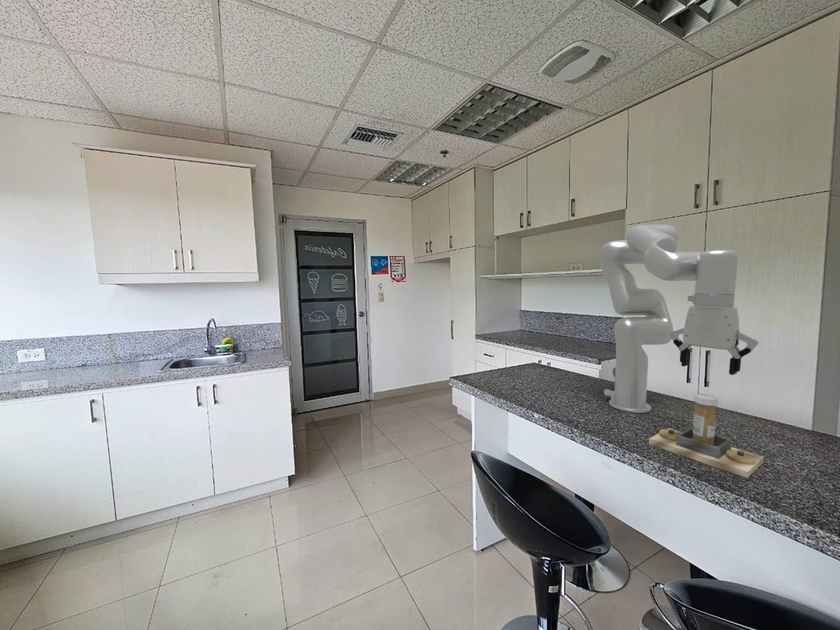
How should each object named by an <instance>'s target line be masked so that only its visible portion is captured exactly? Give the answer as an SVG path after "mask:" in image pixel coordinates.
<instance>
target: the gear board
mask: <svg viewBox="0 0 840 630" xmlns="http://www.w3.org/2000/svg"><path fill="white" fill-rule="evenodd" d="M658 431H659V432H658V433H657V434H655V435H653V436H651V437H649V438H648V444H649V445H651V446H654V447H656V448H660V449H663V450H665V451H668V452H671V453H674V454H677V455H680V456H683V457H684V458H687V459H688V458H689V459H690V460H694V461H697V462H700V463H703V464H705V465H708V466H711V467H713V468H717V469H720V470H723V471H726V472H727V473H731V474H734V475H737V476H739V477H742V478H746V479H749V477H750V476H751V475H753V473H754V472H755V471H757V469H759V468H760V467H761V465H762V464H764V458H765V457H764V456H762V455H759V454H755V453H753V452H749V451H747V450H742V449H739V448H736V447H733V446H732V442H733V441H732V439H731V438H727V437H723V436H720V435H717V434H715V436H714V446H711V445H708V444H705V443H701V442H698V441H695V440H693V427H689V428H688V429H686V430H684V431H679V430H675V429H673V428H670V427H669V428H666V429H665V428H664V429H660V430H658Z"/></svg>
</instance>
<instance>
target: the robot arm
mask: <svg viewBox="0 0 840 630" xmlns="http://www.w3.org/2000/svg"><path fill="white" fill-rule="evenodd" d="M678 241H679V232H678V230H677V229H676V227H674V226H673V225H671V224H664V223H663V224H659V223H657V224H653V223H652V224H639V225H635V226H633V227H632V228H630V229H629V230H628V231H627V232H626V235H625V239H622V240H621V239H619V240H612V241H609V242H606V243H605V244H603V245H602V247H600V251H599V257H598V258H599V259H598V260H599V261H598V262H599V266H600V269H601V271H602V273H603V276H604V278H605V280H606V283H607V285H608V289H609V293H610V298H611V302H612V306H613V309H614V311H615V313H616V314H618V315H620V316H626V317H622V318H620V319H617V321H616V322H615V324H614V328H613V329H614V330H613V332H614V333H613V334H614V339H615V368H616V372H615V377H614V382H615V383H614V389H615V390H612V389H608V388H605V389H604V391H603V393H604V394H603V395H604V396H606V397H610V399H609V400H608V404H609V406H610V407H612V408H614V409H616V410H619V411H622V412H628V413H636V414H643V413H644V414H645V413H649V412H651V410H652V406H651V405H650V404H649V403H647V393H648V392H647V389H648V374H649V371H648V370H649V356H648V354H647V352H646V351H645V349H644V348H643V347H642V346H645V345H647V346H648V345H651V346H652V345H653V346H657V345H658V346H659V345H660V346H661V345H666V344H668V343H670V342H671V341H672V342H673V344H674V345H675V346H676V347H677V348H678V350H679V351H680V352H679V353H680V354H679V363H681V367H687V366H689V365H690V361H691V359H690V358H691V350H690V349H689V348H691V347H699V348H708V349H715V350H725V351H726V350H727V351H728V352H729V354H731V356H732V357H730V359H729V369H728V374H729V375H732V376H734V375H736V374H737V373H738V372H740V371H741V365H742V364H741V363H742V358H744V357H746V355H749V354H750V353H752V352H753V351H754V349H755V348H756V347H757V346H758V345H759V343H760V342H759V340H757V339H754V338H752V337H750V336H749V335H746V334H744V333H742V332H740V318H739V311H738V308H737V307H735V294H736V285H737V283H736V282H737V273H738V261H739V255H738V253H737V251H735V250H732V249H731V250H730V249H728V250H727V249H725V250H724V249H721V250H720V249H718V250H717V249H716V250H705V251H676V250H677V248H678ZM637 264H638V265H641V264H642V265H644V266H645V269H646V270H647V272H649V273H650V274H651V275H653V276H654V277H656V278H658V279H659V280H663V281H669V282H673V281H676V282H677V281H688V282H689V281H690V282H691V281H692V282H694V281H695V282H694V284H695V285H694V286H695V287H694V293H693V295H688V296H687V301H688V302H691V303H692V305H690V306H689V307H688V310H687V314H686V318H685V322H684V327H683V328H681V329H677V330H674V327H673V322H672V320H671V319H672V318H671V316H670V312H669V309H668V305H667V302H666V299H665V297H664V295H663V293H662V292H661V291H658V289H654V288H639V287H638V286H637V284H636V280H635V279H636V278H635V276H634V275H633V274H632V272H631V271H630V270H629V269H628V268H627V267H625V266H624V265H637ZM680 335H682V340H681V339H680V337H679V336H680ZM740 341H742V342H744V343H746V346H745V347H744V348H743V349H741V350H740V348H739V347H738V346H739V344H740Z"/></svg>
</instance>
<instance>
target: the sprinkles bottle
mask: <svg viewBox="0 0 840 630" xmlns="http://www.w3.org/2000/svg"><path fill="white" fill-rule="evenodd" d="M693 401H694V411H693V421H692V428H693V440H695V441H698V442H701V443H705V444H708V445H711V446H714V436H715V435H716V415H717V408H718V407H717V406H718V403H719V402H718V401H719V398H718V397H717V396H715V395H712V394H707V393H695V394H694V399H693Z"/></svg>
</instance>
